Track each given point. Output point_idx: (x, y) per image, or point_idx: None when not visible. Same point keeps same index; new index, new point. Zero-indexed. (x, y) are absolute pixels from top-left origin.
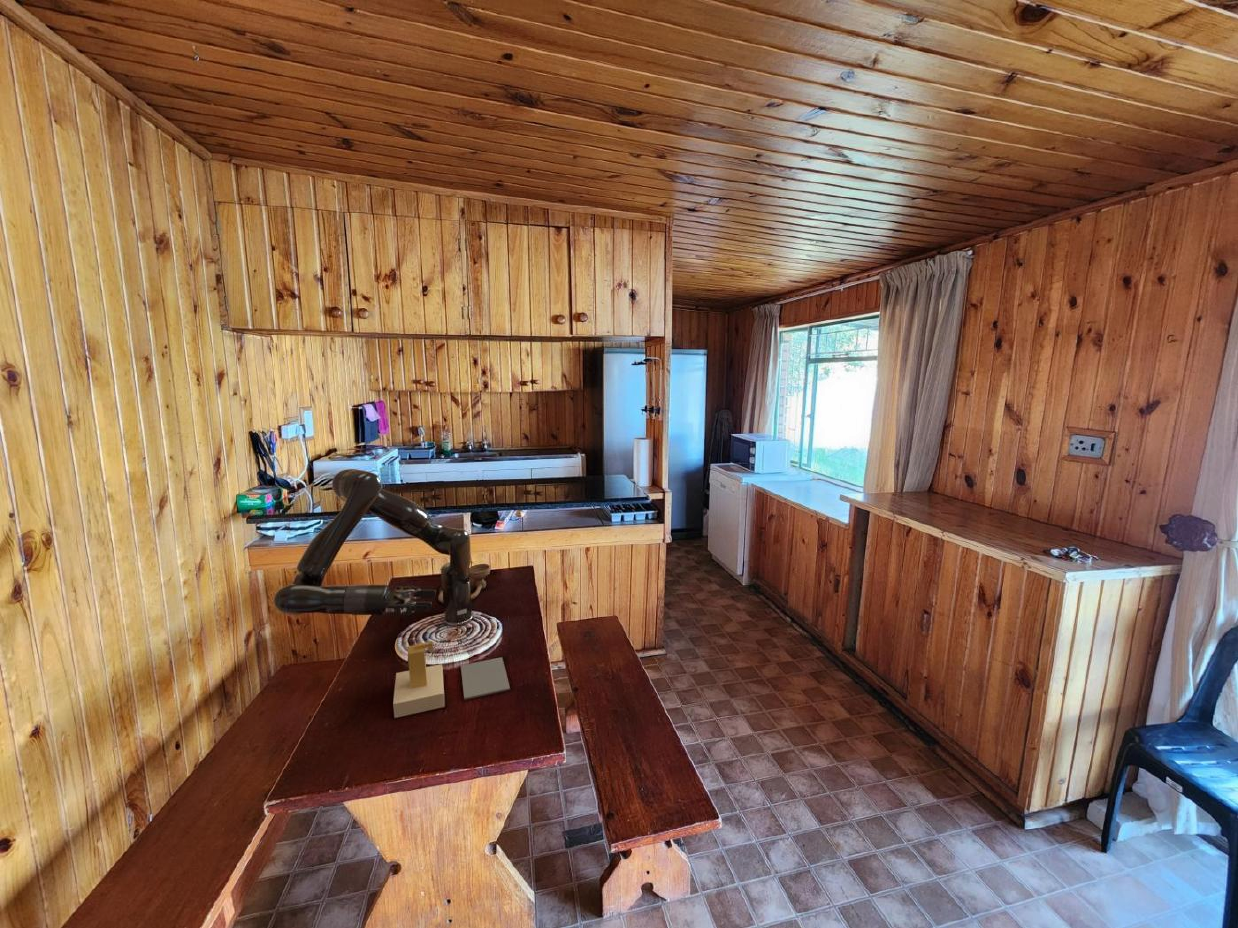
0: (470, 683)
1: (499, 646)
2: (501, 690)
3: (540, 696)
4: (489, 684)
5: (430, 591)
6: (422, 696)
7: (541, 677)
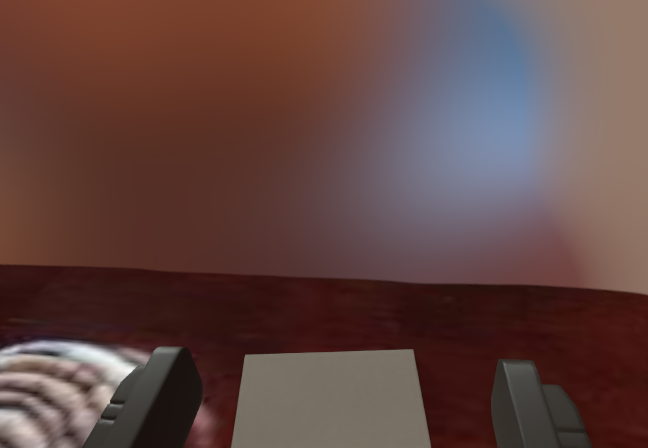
0: None
1: None
2: (416, 372)
3: (455, 292)
4: (380, 401)
5: (167, 387)
6: None
7: (376, 281)
